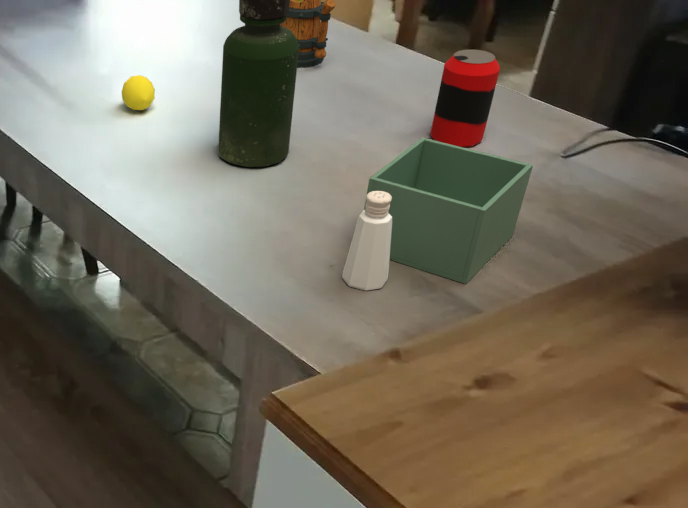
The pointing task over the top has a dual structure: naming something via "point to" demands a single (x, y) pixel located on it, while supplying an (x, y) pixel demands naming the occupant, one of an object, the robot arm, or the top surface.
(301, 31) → the mug
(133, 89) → the lemon
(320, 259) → the top surface
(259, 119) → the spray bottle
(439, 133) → the soda can
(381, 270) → the pepper shaker
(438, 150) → the green open box
